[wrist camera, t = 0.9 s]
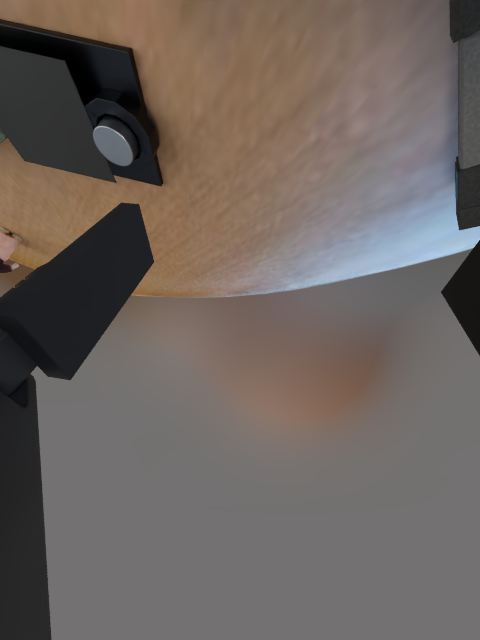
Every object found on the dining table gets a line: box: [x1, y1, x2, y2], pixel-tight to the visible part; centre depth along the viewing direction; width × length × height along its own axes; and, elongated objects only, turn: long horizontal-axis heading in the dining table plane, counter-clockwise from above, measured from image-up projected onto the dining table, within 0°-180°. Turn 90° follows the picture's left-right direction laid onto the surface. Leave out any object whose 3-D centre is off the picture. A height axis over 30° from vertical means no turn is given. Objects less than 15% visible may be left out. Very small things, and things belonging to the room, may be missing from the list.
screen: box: [0, 46, 116, 183], centre depth 27 cm, size 12×12×1 cm
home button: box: [93, 116, 139, 166], centre depth 27 cm, size 4×4×2 cm
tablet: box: [0, 20, 163, 186], centre depth 28 cm, size 19×13×2 cm
